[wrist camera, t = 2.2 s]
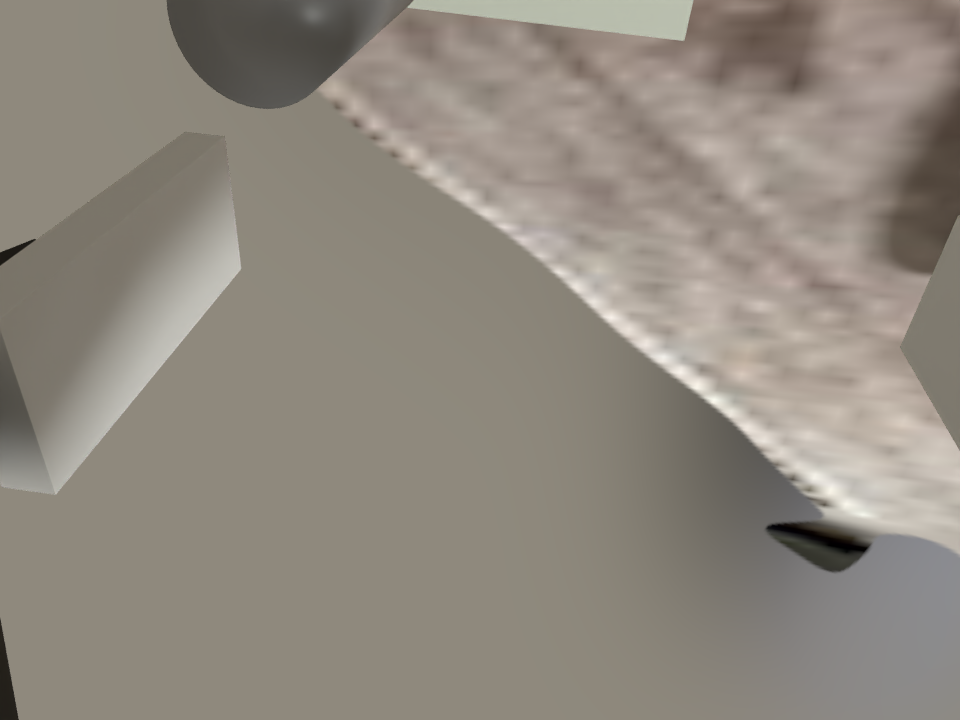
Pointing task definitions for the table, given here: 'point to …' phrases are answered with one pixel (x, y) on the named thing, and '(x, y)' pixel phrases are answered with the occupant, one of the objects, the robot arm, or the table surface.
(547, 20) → the coupling base
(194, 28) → the cap
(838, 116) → the table surface
